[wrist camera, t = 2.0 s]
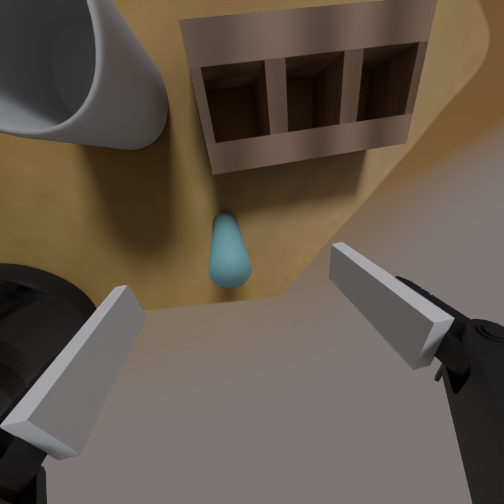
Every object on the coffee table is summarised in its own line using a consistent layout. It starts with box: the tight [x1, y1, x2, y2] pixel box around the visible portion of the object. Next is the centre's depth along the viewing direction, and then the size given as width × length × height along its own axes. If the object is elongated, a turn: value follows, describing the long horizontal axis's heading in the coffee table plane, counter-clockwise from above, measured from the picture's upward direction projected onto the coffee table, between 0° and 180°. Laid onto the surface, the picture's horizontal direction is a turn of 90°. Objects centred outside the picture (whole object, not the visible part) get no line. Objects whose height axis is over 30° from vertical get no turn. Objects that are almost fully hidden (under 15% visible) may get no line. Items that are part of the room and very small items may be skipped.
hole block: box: [179, 0, 437, 175], centre depth 16 cm, size 18×9×5 cm, turn 99°
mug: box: [0, 0, 168, 150], centre depth 10 cm, size 12×8×11 cm
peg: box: [209, 212, 251, 288], centre depth 18 cm, size 3×3×11 cm
